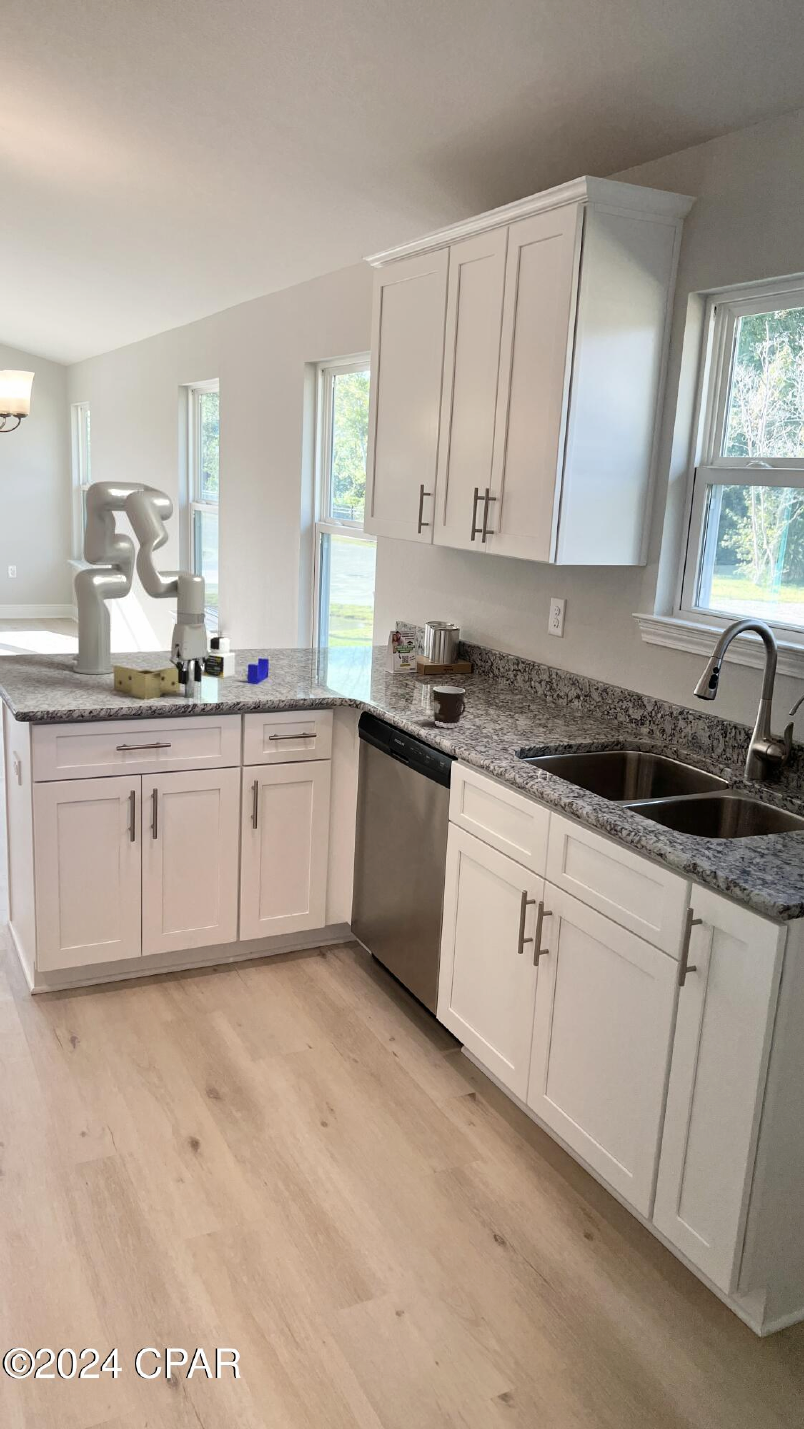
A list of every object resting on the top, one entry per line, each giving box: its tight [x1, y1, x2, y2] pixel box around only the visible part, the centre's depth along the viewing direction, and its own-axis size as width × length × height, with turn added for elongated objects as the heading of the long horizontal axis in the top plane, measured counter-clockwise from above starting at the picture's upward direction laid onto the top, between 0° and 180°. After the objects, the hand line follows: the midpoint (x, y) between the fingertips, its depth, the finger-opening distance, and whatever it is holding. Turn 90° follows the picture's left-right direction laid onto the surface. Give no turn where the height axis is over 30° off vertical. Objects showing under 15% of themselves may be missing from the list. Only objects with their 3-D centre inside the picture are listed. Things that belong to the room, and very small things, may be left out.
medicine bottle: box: [203, 636, 236, 679], centre depth 326 cm, size 7×7×12 cm
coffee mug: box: [432, 685, 466, 723], centre depth 278 cm, size 12×9×10 cm
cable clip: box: [247, 658, 270, 685], centre depth 323 cm, size 12×4×6 cm, turn 171°
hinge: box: [113, 664, 181, 700], centre depth 298 cm, size 16×16×7 cm
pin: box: [184, 659, 195, 699], centre depth 294 cm, size 3×3×13 cm
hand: (189, 681), depth 294 cm, fingers open, 4 cm apart
